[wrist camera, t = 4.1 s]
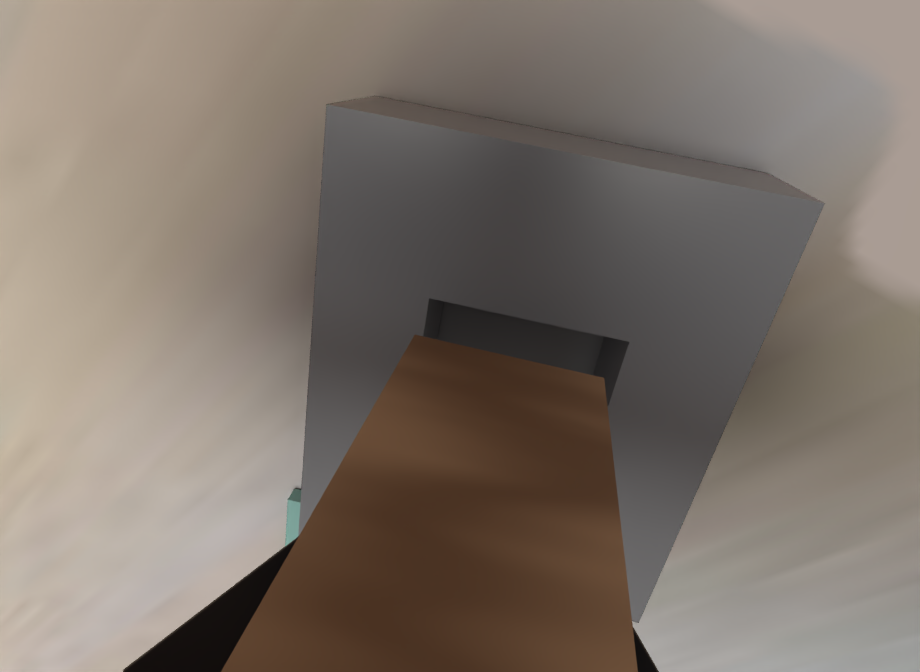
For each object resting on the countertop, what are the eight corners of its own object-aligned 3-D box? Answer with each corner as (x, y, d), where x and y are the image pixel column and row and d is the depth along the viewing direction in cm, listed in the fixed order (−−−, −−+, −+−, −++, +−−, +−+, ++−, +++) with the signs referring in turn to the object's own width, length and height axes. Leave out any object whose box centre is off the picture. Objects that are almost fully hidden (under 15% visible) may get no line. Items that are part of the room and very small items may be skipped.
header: (767, 173, 15) (824, 203, 11) (625, 533, 20) (638, 622, 17) (374, 95, 15) (326, 103, 12) (338, 465, 20) (298, 538, 17)
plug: (610, 374, 12) (685, 927, 4) (560, 528, 14) (550, 1111, 6) (410, 329, 12) (148, 766, 5) (387, 485, 14) (171, 986, 6)
